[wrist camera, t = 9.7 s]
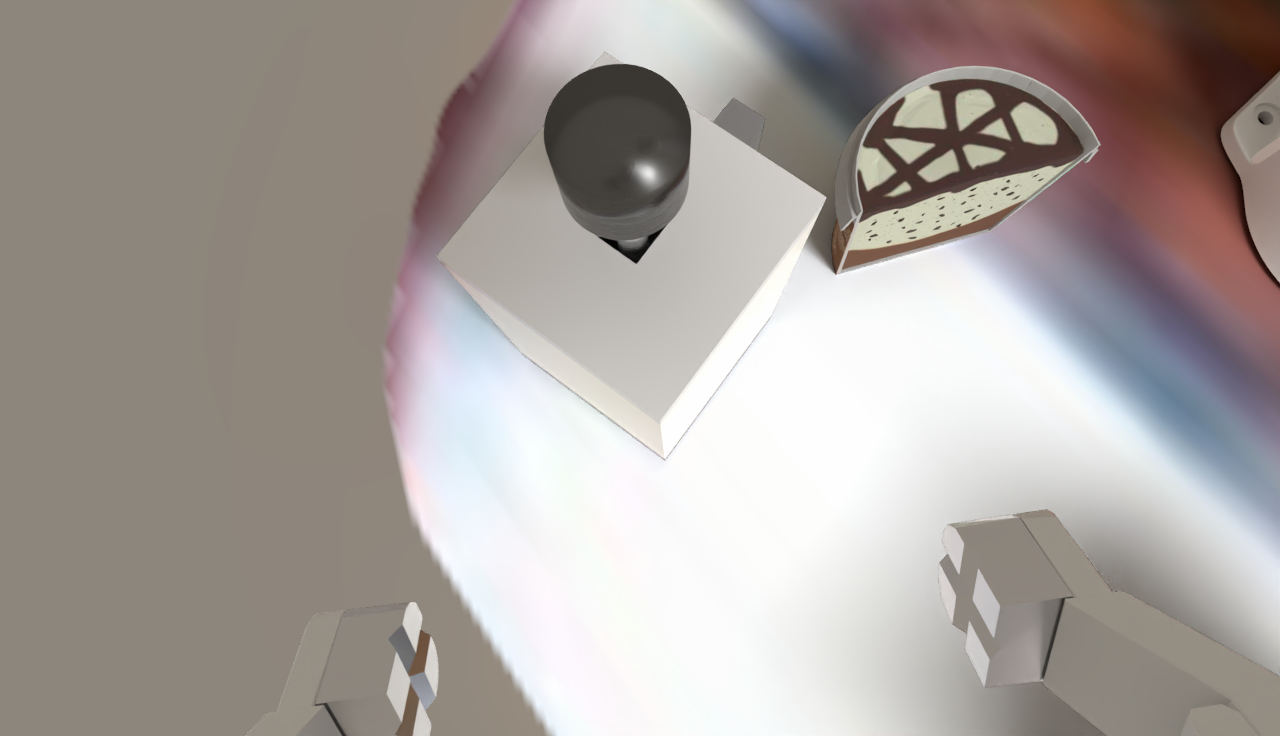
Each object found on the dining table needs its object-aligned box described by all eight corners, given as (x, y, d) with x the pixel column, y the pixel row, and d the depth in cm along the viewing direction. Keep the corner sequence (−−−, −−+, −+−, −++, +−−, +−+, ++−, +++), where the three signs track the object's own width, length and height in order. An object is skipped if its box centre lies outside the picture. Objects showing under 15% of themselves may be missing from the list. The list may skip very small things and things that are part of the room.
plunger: (636, 271, 42) (603, 37, 22) (697, 314, 41) (720, 115, 21) (591, 330, 41) (513, 146, 21) (652, 374, 41) (632, 228, 21)
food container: (978, 130, 46) (1061, 24, 36) (1016, 224, 45) (1112, 141, 35) (778, 185, 46) (807, 94, 36) (811, 281, 45) (850, 214, 35)
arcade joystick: (657, 186, 46) (648, -3, 30) (797, 281, 45) (870, 138, 28) (524, 355, 45) (436, 256, 28) (664, 460, 43) (660, 421, 27)
